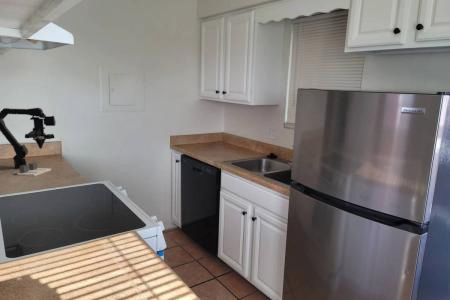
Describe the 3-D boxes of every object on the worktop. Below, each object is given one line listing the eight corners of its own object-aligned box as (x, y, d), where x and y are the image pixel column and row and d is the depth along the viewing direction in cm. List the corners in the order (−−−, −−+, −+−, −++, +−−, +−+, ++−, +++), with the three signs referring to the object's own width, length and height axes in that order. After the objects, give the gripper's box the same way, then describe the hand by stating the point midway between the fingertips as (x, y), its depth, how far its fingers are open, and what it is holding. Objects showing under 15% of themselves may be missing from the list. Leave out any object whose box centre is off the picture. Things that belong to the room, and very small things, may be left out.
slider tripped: (20, 172, 211) (19, 166, 210) (24, 170, 215) (24, 164, 214) (24, 172, 210) (23, 166, 210) (28, 171, 214) (28, 165, 214)
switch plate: (17, 175, 209) (17, 173, 209) (34, 169, 225) (34, 167, 225) (34, 176, 208) (34, 174, 207) (51, 170, 223) (51, 168, 223)
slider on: (29, 169, 219) (28, 163, 218) (33, 168, 222) (32, 162, 222) (33, 169, 218) (32, 163, 217) (37, 168, 222) (36, 162, 221)
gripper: (17, 126, 221) (19, 149, 224) (43, 127, 218) (45, 151, 221) (29, 125, 232) (31, 147, 235) (54, 126, 229) (55, 148, 232)
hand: (40, 148), depth 230 cm, fingers closed
